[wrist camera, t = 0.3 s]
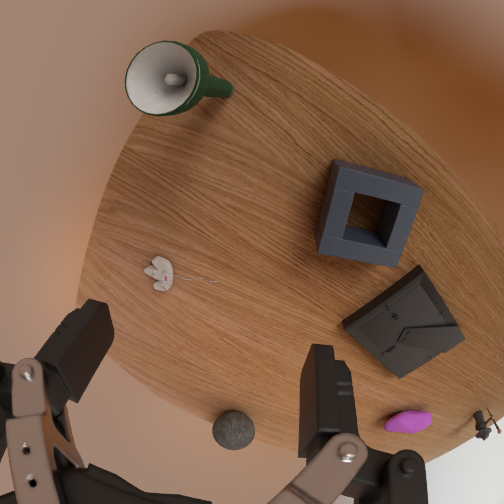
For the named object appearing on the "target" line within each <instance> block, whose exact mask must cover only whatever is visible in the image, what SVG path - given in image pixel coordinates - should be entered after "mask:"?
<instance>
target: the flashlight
mask: <svg viewBox="0 0 504 504" xmlns="http://www.w3.org/2000/svg"><path fill="white" fill-rule="evenodd" d="M125 89H126V92H127V96H128V98H129V100H130V101H131V103H132V104H133V105H134V106H135V107H136V108H137V109H138V110H139V111H142V112H143V113H146V114H148V115H153V116H168V115H176V114H180V113H182V112H185V111H188V110H189V109H191V108H192V107H194V106H195V105H196V104H197V103H198V102H199V101H200V100H201V99H202V98H203V96H206V97H219V98H226V97H229V96H230V95H231V94H232V93H233V86H232V84H231V83H230V82H228V81H225V80H222V79H220V78H217V77H214V76H211V75H209V69H208V66H207V63H206V61H205V60H204V58H203V57H202V55H201V54H199V53H198V52H197V51H195V50H194V49H193V48H191V47H189V46H187V45H184V44H182V43H179V42H175V41H161V42H156V43H153V44H151V45H149V46H147V47H145V48H143V49H142V50H141V51H140V52H138V53H137V54H136V56H135V57H134V58H133V59H132V61H131V62H130V65H129V67H128V69H127V72H126V77H125Z"/></svg>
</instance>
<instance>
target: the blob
mask: <svg viewBox="0 0 504 504" xmlns="http://www.w3.org/2000/svg"><path fill="white" fill-rule="evenodd" d="M431 421H432V416H431V414H430V413H429V412H427V411H415V410H408V411H404V412H401V413H399V414H397V415H395V416H393V417H391V418H390V419H388V420H387V421H386V422H385V425H384V429H385V430H387V431H390V432H402V433H416V432H419V431H421V430H423V429H425V428H426V427H427V426H428V425H429V424H430V423H431Z"/></svg>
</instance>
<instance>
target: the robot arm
mask: <svg viewBox="0 0 504 504" xmlns="http://www.w3.org/2000/svg"><path fill="white" fill-rule="evenodd" d="M113 339H114V328H113V324H112V320H111V316H110V312H109V308H108V305H107V304H106V303H103V302H100V301H96V300H92V299H89V300H87V301H86V303H85V304H84V305H83V306H82V307H81V309H79V308H77V309H75V310H74V311H72V312H71V313H69V314H68V315H67V316H66V317H65V318H64V320H63V321H62V322H61V325H59V326H58V327H57V328H56V330H55V332H53V334H52V335H51V336H50V337H49V339H48V340H47V341H46V343H45V344H44V345H43V347H42V348H41V349H40V351H39V352H38V353H37V355H36V356H35V357H34V358H25V359H22V360H20V361H19V362H18V363H17V364H16V365H15V364H9V363H2V362H1V361H0V462H1V459H2V457H3V454H4V452H5V450H6V448H7V447H8V454H9V462H10V469H11V475H12V480H13V485H14V490H15V491H12V492H9V493H7V494H4V495H1V496H0V504H212V502H211V501H205V500H201V499H196V498H192V497H187V496H183V495H179V494H159V493H148V492H144V491H142V490H140V489H138V488H137V487H135V486H133V485H132V484H130V483H128V482H127V481H126V480H124V479H122V478H121V477H119V476H118V475H116V474H114V473H111V472H109V471H107V470H104V469H102V468H99V467H97V466H95V465H93V464H90V463H89V465H88V468H85V467H84V464H83V461H82V459H81V457H80V455H79V453H78V451H77V449H76V446H75V444H74V439H73V435H72V430H71V426H70V421H69V416H68V410H67V407H66V403H67V401H68V399H69V400H71V401H74V402H76V403H78V402H79V400H80V398H81V397H82V395H83V393H84V391H85V389H86V388H87V386H88V384H89V382H90V380H91V379H92V377H93V375H94V373H95V372H96V370H97V368H98V366H99V365H100V363H101V361H102V359H103V358H104V356H105V355H106V353H107V351H108V350H109V348H110V346H111V344H112V342H113ZM353 394H354V392H353V386H352V377H351V372H350V370H349V368H348V367H347V365H346V363H345V362H344V361H341V360H335V357H334V349H333V346H331V345H322V344H312V345H311V348H310V350H309V353H308V356H307V358H306V361H305V363H304V366H303V369H302V372H301V378H300V415H299V447H298V457H299V458H306V467H305V468H304V469H303V470H302V471H301V472H300V473H299V474H298V475H297V476H296V477H295V478H294V479H293V480H292V481H291V482H290V483H289V484H288V485H287V486H286V487H285V488H283V490H281V491H280V493H278V494H277V495H276V496H275V497H274V498H273V499H272V500H270V501H269V502H268V503H267V504H332V503H333V502H334V501H335V500H336V499H337V498H338V496H339V495H344V496H348V497H352V498H354V504H428V493H427V481H426V470H425V463H424V460H423V458H422V457H421V456H420V455H419V454H418V453H417V452H415V451H413V450H407V449H406V450H401V451H399V452H397V453H396V454H394V455H393V454H389V453H385V452H381V451H378V450H374V449H372V448H370V447H368V446H367V445H366V444H365V443H364V441H363V440H362V439H361V438H360V436H359V433H358V426H357V417H356V408H355V400H354V396H353Z"/></svg>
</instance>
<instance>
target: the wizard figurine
mask: <svg viewBox="0 0 504 504" xmlns="http://www.w3.org/2000/svg"><path fill="white" fill-rule="evenodd" d="M487 410H488V408H487ZM488 412H489V410H488ZM489 414H490V412H489ZM490 416H491V417H490V418H489V419H488V420H487V421H486V422H485V421H484V418H483V413H482V411H479V412H477V413H475V414H474V418H475V420H476V423H475V426H476V430H477V431H479V432H478V433H477V434H476V435H475V436H476V437H477V438H482V439H483V440H485V439H486V438H487V437H488V436H489V433H490V432H491V428H486V425H487V423H488V422H489V421H491V420H493V422H494V424H495V426H496V428H497V430H498V433H501V430H500V429H499V427H498V426H497V424H496V422H495V420H494V419H493V418H494V416H492V415H491V414H490ZM478 428H479V429H478Z"/></svg>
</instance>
